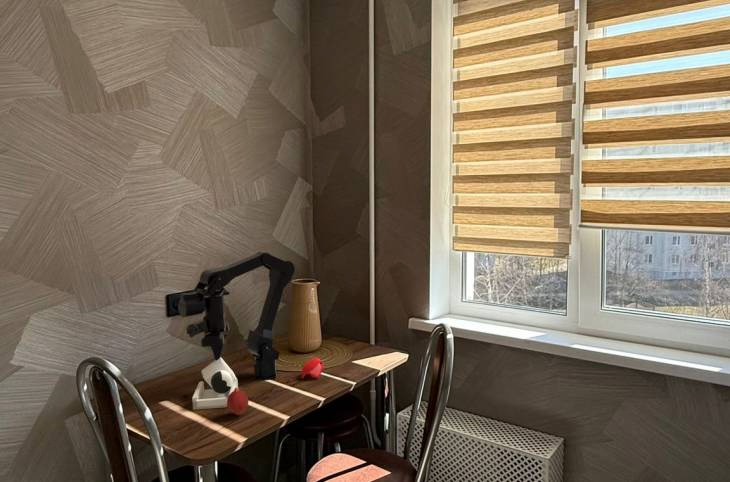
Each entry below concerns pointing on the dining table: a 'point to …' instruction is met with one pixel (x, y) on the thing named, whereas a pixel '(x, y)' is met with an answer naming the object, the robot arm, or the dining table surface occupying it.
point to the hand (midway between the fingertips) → (217, 360)
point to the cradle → (210, 397)
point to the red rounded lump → (237, 401)
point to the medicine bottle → (219, 376)
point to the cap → (313, 368)
